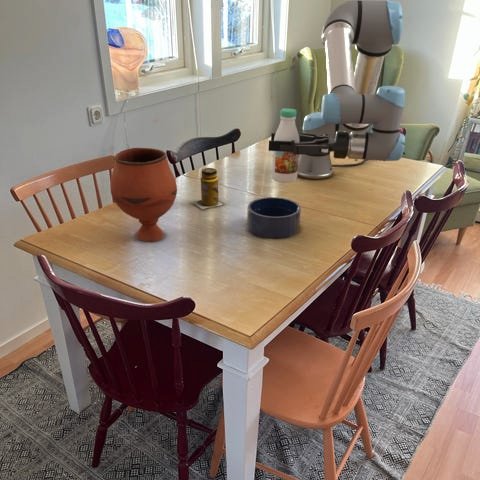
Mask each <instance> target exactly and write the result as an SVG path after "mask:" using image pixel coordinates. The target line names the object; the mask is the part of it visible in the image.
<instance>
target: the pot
mask: <svg viewBox="0 0 480 480" xmlns="http://www.w3.org/2000/svg"><path fill="white" fill-rule="evenodd" d="M301 210H302V207H301V205H300V204H299V203H298V202H297V201H294V200H292V199H289V198H285V197H277V196H276V197H275V196H269V197H259V198H256V199H253V200H252V201H250V202H249V203H248V204H247V211H246V212H247V214H246V215H247V217H246V218H247V220H246V221H247V222H246V226H247V227H246V228H247V231H249V233H250V234H252V235H254V236H256V237H259V238H263V239H268V240H269V239H272V240H276V239H277V240H278V239H279V240H280V239H287V238H291V237H293V236H295V235H296V234H297V233H298V232H299V231H300V224H301V223H300V222H301V212H302V211H301Z"/></svg>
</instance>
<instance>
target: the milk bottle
mask: <svg viewBox="0 0 480 480" xmlns="http://www.w3.org/2000/svg"><path fill="white" fill-rule="evenodd" d="M297 114H298V113H297V109H295V108H282V109H281V110H280V112H279V115H280V116H279V118H280V122H279V125H278V127H277V130H276V132H275V133H276V134H275V137H274V141H292V140H294V141H295V143H298V142H299V134H298V132H299V131H298V128H297V125H296V119H297ZM291 145H292V144H291ZM299 158H300V155H294V154H293V153H292V152H284V151H272V161H271V162H272V164H271V166H272V167H271V179H272V180H273V181H274V182H277V183H283V184H288V183H294V182H295V181H297V179H298V176H297V170H298V159H299Z"/></svg>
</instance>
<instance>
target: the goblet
mask: <svg viewBox="0 0 480 480" xmlns="http://www.w3.org/2000/svg"><path fill="white" fill-rule="evenodd" d="M167 156H168V155H167V152H165V151H164V150H161V149H157V148H153V147H151V148H149V147H132V148H131V147H130V148H127V149H124V150H121V151H119V152H118V153H116V154H115V156H114V160H115V161H114V165H113V169H112V173H111V177H110V188H109V189H110V194H111V197H112V200H113V201H114V203H115V204H116V206H117V207H118V208H119V210H120V211H122V212H123V213H125V214H126V215H127V216H130V217H131V218H134V219H136V220H138V222H139V223H140V224H141V226H140V227H139V228H138V230H137V232H136V233H135V237H136V239H137V240H139V241H140V242H148V243H151V242H158V241H160V240H161V239H163V238H164V237H165V232H164V231H163V229H162V228H161V227H160V226H159V225H158V223H159V219H160V218H162V217H163V216H164V215H165V214H166V213H168V212H169V210H170V209H171V208H172V207H173V205H174V203H175V201H176V198H177V194H178V185H177V181H176V178H175V176H174V173H173V172H172V169H171V167H170V164H169V160H168V158H167Z"/></svg>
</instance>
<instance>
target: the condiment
mask: <svg viewBox="0 0 480 480" xmlns="http://www.w3.org/2000/svg"><path fill="white" fill-rule="evenodd" d="M200 196H201V197H200V199H199V200H196V201H192V204H194V205H195V206H197V208H200V209H201V210H205V209H209V208H214V207H218V206H222V205H224V204H223V203H222V202H220V201H219V177H218V171H217V169H216V168H213V167H205V168H202V169H201V177H200Z"/></svg>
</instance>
